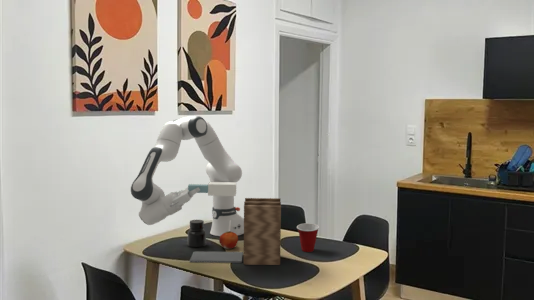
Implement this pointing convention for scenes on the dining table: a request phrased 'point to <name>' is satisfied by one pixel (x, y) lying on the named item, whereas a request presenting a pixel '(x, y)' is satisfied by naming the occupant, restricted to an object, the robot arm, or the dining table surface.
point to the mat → (217, 257)
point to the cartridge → (216, 188)
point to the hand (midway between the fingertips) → (200, 187)
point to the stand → (262, 231)
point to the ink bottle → (196, 234)
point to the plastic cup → (307, 236)
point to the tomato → (228, 240)
